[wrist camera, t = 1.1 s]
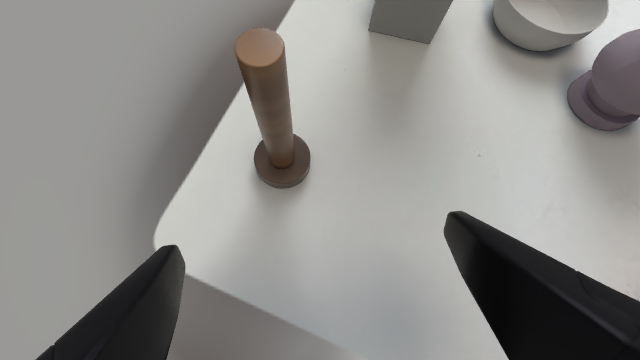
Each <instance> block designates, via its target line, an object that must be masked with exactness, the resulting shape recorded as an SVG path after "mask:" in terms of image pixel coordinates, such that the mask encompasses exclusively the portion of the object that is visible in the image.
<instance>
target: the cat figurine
mask: <svg viewBox="0 0 640 360" xmlns="http://www.w3.org/2000/svg"><path fill="white" fill-rule="evenodd" d="M567 98H568V101H569V104H570V107H571V108H572V110H573V111H574V113H575V114H576V115H577V116H578V117H579V118H580V119H581V120H582V121H583V122H585V123H587V124H588V125H590V126H592V127H594V128H598V129H601V130H615V129H618V128H621V127H623V126H625V125H627V124H630V123H632V122H634V121H636V120H637V119H638V118H639V117H640V29H638V30H634V31H630V32H627V33H625V34H623V35H621V36H619V37H618V38H616V39H615V40H613V41H612V42H610V43H609V44H607V45H606V46H605V47H604V48H603V49H602V50H601V51H600V53H599V54H598V56H597V58H596V59H595V61H594V63H593V66H592V70H589V71H587V72H586V73H585V74H583V75H582V76H580V77H579V78H578V79H576V80H575V81H574V82H572V83H571V85H570V87H569V89H568V96H567Z"/></svg>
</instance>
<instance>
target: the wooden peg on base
mask: <svg viewBox="0 0 640 360" xmlns="http://www.w3.org/2000/svg"><path fill="white" fill-rule="evenodd" d="M235 54H236V57H237V60H238V63H239V67H240V70H241V73H242V76H243V79H244V82H245V85H246V88H247V92H248V95H249V98H250V101H251V104H252V107H253V110H254V113H255V116H256V119H257V123H258V126H259V129H260V132H261V135H262V138H263V140H262V141H261V142H260V143H259V145H258V146H257V148H256V150H255V154H254V163H255V167H256V169H257V171H258V173H259V175H260V177H261V178H262V179H263V180H264V181H265V182H266V183H267V184H269V185H271V186H273V187H277V188H288V187H292V186H295V185H297V184H298V183H300V182H301V181H302V180H303V179H304V178H305V177H306V175H307V173H308V171H309V168H310V151H309V148H308V146H307V145H306V143H305V142H304V141H303V140H302V139H301V138H300V137H298V136H297V135H295V134H293V129H292V118H291V108H290V98H289V87H288V77H287V66H286V56H285V46H284V42H283V40H282V38H281V37H280V36H279V35H278V34H277V33H276V32H274V31H272V30H270V29H266V28H253V29H250V30H248V31H246V32H244V33H242V34H241V35H240V36H239V38H238V39H237V41H236V43H235Z"/></svg>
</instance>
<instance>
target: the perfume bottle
mask: <svg viewBox="0 0 640 360" xmlns="http://www.w3.org/2000/svg"><path fill="white" fill-rule="evenodd" d="M452 1H453V0H375V3H374V7H373V12H372V16H371V20H370V25H369V29H368V30H369V31H374V32H378V33H383V34H387V35H392V36H396V37H401V38H405V39H410V40H414V41H419V42H423V43H428V44H430V42H431V41H432V39H433V37H434V35H435V33H436V31H437V29H438V27H439V26H440V24H441V22H442V20H443V18H444V16H445V14H446V13H447V11H448V9H449V7H450V5H451V3H452Z"/></svg>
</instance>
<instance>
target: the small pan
mask: <svg viewBox="0 0 640 360" xmlns="http://www.w3.org/2000/svg"><path fill="white" fill-rule="evenodd" d="M608 11H609V3H608V0H494V10H493V18H494V22H495V24H496V26H497V28H498V30H499V31H500V32H501V33H502V35H503V36H504V37H505V38H507V39H508V40H509V41H511V42H512V43H514V44H515V45H517V46H520V47H522V48H525V49H528V50H533V51H549V50H552V49H555V48H560V47H563V46H566V45H569V44H572V43H575V42H577V41H579V40H581V39H582V38H584V37H585V36H587V35H588V34H590V33H591V32H592V31H593V30H594V29H596V28H597V27H599V26H600V25H601V24H602V23H603V22H604V20H605V19H606V17H607V14H608Z"/></svg>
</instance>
